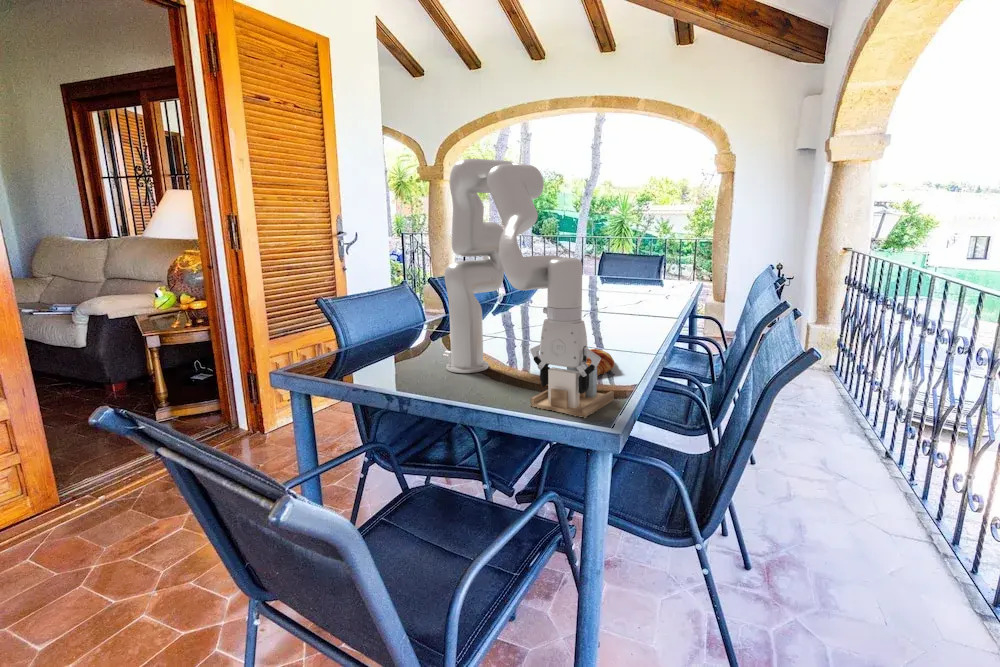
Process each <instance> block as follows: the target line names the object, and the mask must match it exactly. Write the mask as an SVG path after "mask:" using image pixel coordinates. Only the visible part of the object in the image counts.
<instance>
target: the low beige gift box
mask: <svg viewBox="0 0 1000 667" xmlns="http://www.w3.org/2000/svg"><path fill="white" fill-rule="evenodd" d="M579 376H580V372H578V371H572V370H567V368H566V369H564V368H558V367H550V369H548V385H547V386H548V387H547V388H548V389H547V390H548V403H551V389H552V388H553V389H558V390H563V391H568V407H572V408H577V407H578V406H579V402H580V393H579Z"/></svg>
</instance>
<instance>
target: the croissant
mask: <svg viewBox="0 0 1000 667" xmlns="http://www.w3.org/2000/svg"><path fill="white" fill-rule="evenodd" d="M589 350H591V351H592V352H594V353H595V354H597V355H598V356H599V357H601V360H600V362H599V364H598V365H597V375H598V376H601V375H605V374H607V373H608V372H610V370H613V368H614V367H615V360H614V359H613V357H612V355H611V354H610V353H609V352H607V351H606V350H601V349H598V348H591V349H589ZM591 362H592V361H591V359H590V358H588V357H587V362H586V363H587V365H588V366H590V364H591ZM604 373H605V374H604ZM600 374H601V375H600Z"/></svg>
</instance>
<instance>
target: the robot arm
mask: <svg viewBox="0 0 1000 667" xmlns="http://www.w3.org/2000/svg"><path fill="white" fill-rule="evenodd" d="M544 182H545V181H544V178H543V175H542V173H541V171H540V170H539V169H538V168H537V167H536V166H534V165H531V164H530V165H529V164H525V163H520V162H514V161H511V160H500V159H499V160H497V159H485V158H466V159H462V160H459V161H457V162H455V163H454V165H453V167H452V169H451V171H450V174H449V189H450V190H449V191H450V195H451V199H452V200H451V201H452V219H451V220H452V221H451V222H452V223H451V226H452V227H451V248H452V252H453V253H454V254H455V255H456V256H459V257H464V258H466V257H467V258H468V257H469V258H470V257H471V258H473V257H482V258H483V259H478V260H475V259H473V260H471V259H470V260H458V261H455V262H452V263H450V264H449V265H448V266H447V267H446V268H445V271H444V276H443V277H444V285H445V287H446V294H447V298H448V308H449V309H448V312H449V314H448V315H449V332H450V333H449V337H450V338H449V340H450V350H446V351H445V352H444V353H443V354H442V359H446V360H448V362H447V363H446V366H445V367H446V370H447V371H448V372H452V373H456V374H458V373H459V374H472V373H475V374H476V373H479V372H483V371H486V370H488V369H489V366H490V364H489V362H488V361H486V360H484V340H483V339H484V335H483V334H484V332H483V331H484V330H483V309H482V305H481V303H480V302H479V300H478V299H477V297H476V296H475V294H481V293H489V292H495V291H498V290H499V289H500V288H501V287H502V285H503V281H504V275H505V276H506V278H507V280H508V283H509V284H510V285H511V286H512V287H513V288H514V289H516V290H518V291H531V290H541V289H543V290H544V289H547V304H546V307H543V309H542V312H543V314H546V319H544V320H543V324H542V329H541V335H540V343H539V344H537V345H536V346H534V347H532V348H530V354H531V356H532V358H533V361H534V363H535V364H536V365H537V368H538V370H539V377H540V378H539V381H540V386H541V387H546V386H548V369H550V368H551V365H552V366H557V367H558V366H559V367H564V368H567V367H570V368H577V369H578V371H579V372H580V374H581V376H579V393H580V394H582V393H584V392H586V391H587V390H588V388H589V374H591V372H592V371H594V370H595V369H596V368H597V365H598V364H599V362H600V360H601V357H599V356H598V355H597V354H595V353H594V352H592V351H591V350H590V349H589V348H588V339H587V338H588V336H587V329H586V323H585V320H582V315H583V314H582V313H583V307H582V306H583V262H582V260H580V259H579V258H576V257H562V256H559V255H550V254H549V255H532V256H530V255H529V256H523V253H522V251H521V248H520V246H519V244H518V243H519V242H518V239H517V238H518V236H519V235H521V234H523V233H525V232H527V231H528V230H530V229H531V228H532V227H533V226H534V225H535V224H536V222H537V221H538V218H539V216H538V214H539V213H538V211H537V209H536V207H535V204H534V202H533V200H537V199H538V198H539V197H540V196H541V195H542V194H543V190H544V187H545V186H544V185H545V183H544ZM478 193H479V194H491V197H492V201H493V203H494V204H495V208H496V209H497V211H498V214H499V217H500V219H501V222H502V224H503V227H504V228H503V227H502V225H501V224H499V223H496V222H492V221H491V222H490V221H487V222H486V221H485V222H484V214H485V210H484V203H483V202H482V198H481V197H480V195H479V194H478ZM587 357H588V358H590V359H591V361H592V362H591V364H590V366H588V365H587V363H586V362H587ZM549 365H550V366H549Z"/></svg>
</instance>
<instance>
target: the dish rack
mask: <svg viewBox="0 0 1000 667" xmlns="http://www.w3.org/2000/svg"><path fill="white" fill-rule="evenodd" d="M566 370H572V371H578V369H577V368H570V367H566ZM578 372H579V371H578ZM580 376H581V374H580ZM597 382H598V376H597V368H596V369H595V370H594V371H592V372H591V374H589V388H588V390H587V391H586V392H584V393H582V394H580V402H579V406H578V407H577V408H572V407H568V391H563V390H558V389H553V388H552V389H551V403H548V389H545V391H541V392H540V393H538V394H536V395H534V396H532V397H530V407H531V406H532V407H531V408H534V407H537V408H536V409H539V408H541V409H540V410H543V409H546V410H545V411H548V410H552V411H551V412H553V411H557V412H563V413H567V414H572V415H576V416H582V417H587V416H588V415H590V414H591V413H593V412H595V411H596V412H597V411H599V410H600V409H601V408H604V407H605V406H606V405H608V404H609V403H611V402H613V401H614V398H615V397H614V395H615V391H614V390H610V391H608V392H607V393H601V392H597V391H598V383H597ZM598 409H599V410H598ZM557 412H556V413H557ZM596 412H595V413H596ZM593 414H594V413H593ZM576 416H575V417H576ZM590 416H591V415H590ZM587 418H588V417H587Z"/></svg>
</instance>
